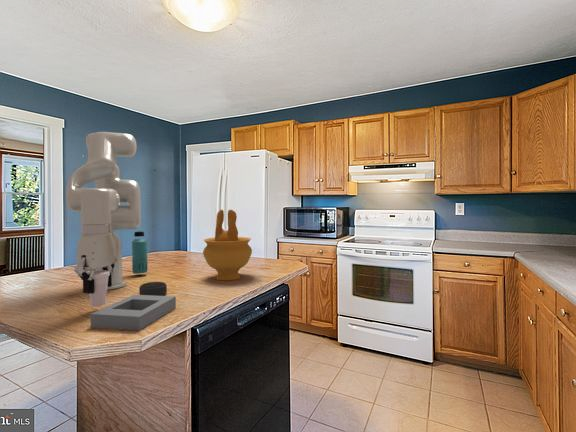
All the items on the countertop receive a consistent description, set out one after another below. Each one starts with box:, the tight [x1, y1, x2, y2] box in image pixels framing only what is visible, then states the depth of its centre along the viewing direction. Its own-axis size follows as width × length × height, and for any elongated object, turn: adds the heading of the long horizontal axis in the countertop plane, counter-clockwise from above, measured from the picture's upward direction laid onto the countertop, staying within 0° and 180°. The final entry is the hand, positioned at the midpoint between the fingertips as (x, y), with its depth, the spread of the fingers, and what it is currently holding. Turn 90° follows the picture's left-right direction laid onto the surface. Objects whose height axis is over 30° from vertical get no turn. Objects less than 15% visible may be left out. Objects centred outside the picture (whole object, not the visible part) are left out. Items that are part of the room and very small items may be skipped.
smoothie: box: [87, 269, 110, 307], centre depth 94 cm, size 6×6×14 cm
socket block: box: [89, 294, 177, 331], centre depth 90 cm, size 14×18×4 cm
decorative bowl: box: [202, 209, 253, 281], centre depth 138 cm, size 21×21×30 cm
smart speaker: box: [138, 281, 168, 296], centre depth 112 cm, size 9×9×4 cm
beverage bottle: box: [131, 231, 149, 275], centre depth 143 cm, size 6×7×20 cm
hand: (97, 289), depth 94 cm, fingers closed on smoothie, 6 cm apart
